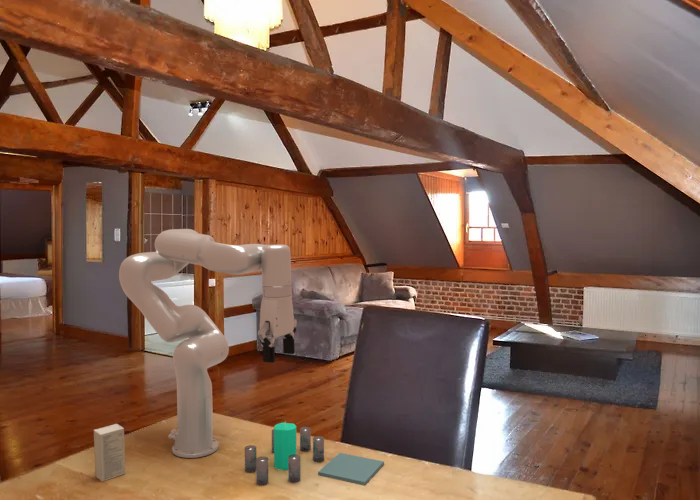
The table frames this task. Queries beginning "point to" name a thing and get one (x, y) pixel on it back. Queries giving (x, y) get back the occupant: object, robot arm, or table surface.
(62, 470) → the table surface
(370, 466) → the mat
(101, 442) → the skincare box
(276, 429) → the candle
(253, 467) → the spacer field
